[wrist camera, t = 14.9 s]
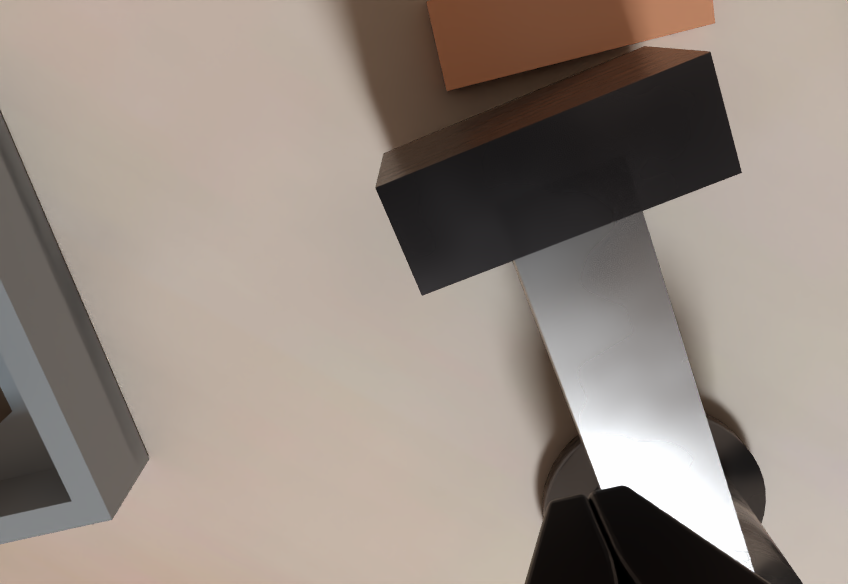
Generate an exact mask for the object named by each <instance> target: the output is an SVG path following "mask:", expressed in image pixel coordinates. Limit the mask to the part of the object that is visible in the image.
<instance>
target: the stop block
mask: <svg viewBox="0 0 848 584" xmlns="http://www.w3.org/2000/svg"><path fill="white" fill-rule="evenodd" d="M11 412H12V410H11V407H10V405H9V403H8V401H7V399H6V397H5V395H4V393H3V391H2V389H1V387H0V423H1V422H2V421H3V420H4V419H5V418H6V417H7V416H8V415H9V414H10V413H11Z"/></svg>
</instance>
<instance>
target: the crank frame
mask: <svg viewBox="0 0 848 584" xmlns="http://www.w3.org/2000/svg"><path fill="white" fill-rule="evenodd" d="M426 3H427V8H428V12H429V17H430V21H431V25H432V30H433V34H434V39H435V43H436V47H437V52H438V56H439V61H440V65H441V70H442V74H443V78H444V83H445V87H446V90H447V91H449V90H453V89H457V88H461V87H465V86H469V85H473V84H477V83H481V82H485V81H488V80H492V79H496V78H500V77H504V76H508V75H512V74H516V73H520V72H524V71H528V70H532V69H536V68H540V67H544V66H548V65H552V64H556V63H560V62H563V61H567V60H571V59H575V58H579V57H583V56H587V55H591V54H595V53H599V52H603V51H607V50H611V49H615V48H619V47H623V46H627V45H631V44H635V43H639V42H642V41H646V40H650V39H654V38H658V37H662V36H666V35H670V34H674V33H678V32H682V31H686V30H690V29H694V28H698V27H702V26H706V25H710V24H714V23H715V18H714V9H713V0H430V1H426ZM705 415H706V418H707V421H708V424H709V428H710V431H711V434H712V437H713V440H714V444H715V447H716V450H717V453H718V457H719V460H720V463H721V466H722V469H723V473H724V474H725V475H726V476H727V477H728V478H729V479H730V480H731V482H732V483H733V484H734V486H735V487H736V489H737V490H738V492H739V493H740V494H741V496H742V497H743V499H744V500H745V502H746V503H747V504H748V506H749V507H750V509H751V510H752V512H753V513H754V514H755V516H756V517H757V519H758V520H759V522H760V523H762V519H763V516H764V511H765V503H766V496H765V485H764V480H763V476H762V474H761V471H760V468H759V466H758V464H757V462H756V461H755V459H754V457H753V455H752V454H751V453H750V452H749V450H748V449H747V448H746V447H745V445H744V444H743V443H742V442H741V440H740V439H739V438H738V437H737V435H736V434H735V433H734V432H733V431H731V430H730V429H729V428H728V427H727V426H726V425H724V424H723V423H721V422H720V421H718V420H717V419H715V418H713V417H711V416H709V415H707V414H705ZM597 487H598V484H597V482H596V479H595V477H594V474H593V471H592V469H591V466H590V463H589V461H588V458H587V456H586V453H585V450H584V448H583V445H582V442H581V440H580V437H579V435H578V436H577V437H575V438H574V439H573V440H572V441H571V442H570V443H569V444H568V445H567V447H566V448H565V449H564V450H563V451H562V452H561V454H560V455H559V457H558V458H557V460H556V461H555V463H554V465H553V467H552V469H551V471H550V473H549V475H548V478H547V481H546V484H545V487H544V493H543V509H542V511H543V517H544V515H545V512H546V508H547V506H548V503H549V502H550V501H552V500H555V499H559V498H564V497H569V496H573V495H578V494H583V495H585V496H586V497H587V498H588V497H589V494H590V493H591V492H593V491H594V490H595V489H596V488H597Z"/></svg>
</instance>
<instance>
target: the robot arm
mask: <svg viewBox="0 0 848 584" xmlns="http://www.w3.org/2000/svg"><path fill="white" fill-rule="evenodd" d="M525 584H771V583H769V582H768V581H766V580H765V579H763V578H762V577H760V576H759V575H757V574H756V573H755V572H753V571H752V570H750V569H749V568H747V567H746V566H744V565H743V564H741V563H740V562H738V561H737V560H735V559H734V558H732V557H731V556H730V555H728V554H727V553H725V552H724V551H722V550H721V549H719V548H718V547H716V546H715V545H713V544H712V543H710V542H709V541H707V540H706V539H705V538H703V537H702V536H700V535H699V534H697V533H696V532H694V531H693V530H691V529H690V528H688V527H687V526H685V525H684V524H682V523H681V522H680V521H678V520H677V519H675V518H674V517H672V516H671V515H669V514H668V513H666V512H665V511H663V510H662V509H660V508H659V507H657V506H656V505H655V504H653V503H652V502H650V501H649V500H647V499H646V498H644V497H643V496H641V495H640V494H638V493H637V492H635V491H634V490H632V489H631V488H629V487H628V486H624V485H620V486H615V487H610V488H606V489H601V490H596V491H593V492H591V493H590V494H589V497H588V498H587V497H586V496H585V495H583V494H578V495H573V496H569V497H564V498H559V499H555V500H552V501H550V502H549V503H548V506H547V508H546V512H545V515H544V519H543V522H542V526H541V529H540V532H539V536H538V539H537V543H536V546H535V550H534V553H533V556H532V560H531V563H530V567H529V570H528V574H527V577H526V581H525Z"/></svg>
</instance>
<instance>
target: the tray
mask: <svg viewBox="0 0 848 584" xmlns="http://www.w3.org/2000/svg"><path fill="white" fill-rule="evenodd" d="M0 387H1V389H2V391H3V393H4V395H5V397H6V399H7V401H8V403H9V405H10V407H11V410H12V412H11V413H10V414H9V415H8V416H7V417H6V418H5V419H4V420H3V421H2V422H1V423H0V544H4V543H8V542H13V541H17V540H22V539H26V538H31V537H36V536H40V535H45V534H49V533H54V532H58V531H63V530H67V529H72V528H77V527H81V526H86V525H90V524H95V523H99V522H104V521H109V520H112V519H113V517H114V516H115V514H116V512H117V511H118V509H119V508H120V506H121V504H122V503H123V501H124V499H125V498H126V496H127V494H128V493H129V491H130V490H131V488H132V486H133V485H134V483H135V481H136V480H137V478H138V477H139V475H140V473H141V472H142V470H143V468H144V467H145V465H146V464H147V462H148V460H149V457H148V455H147V453H146V450H145V448H144V446H143V443H142V441H141V439H140V436H139V434H138V432H137V429H136V427H135V425H134V422H133V420H132V418H131V415H130V413H129V411H128V408H127V406H126V404H125V401H124V399H123V397H122V394H121V392H120V390H119V387H118V385H117V383H116V380H115V378H114V376H113V373H112V371H111V369H110V366H109V364H108V362H107V359H106V357H105V355H104V352H103V350H102V348H101V345H100V343H99V341H98V338H97V336H96V334H95V332H94V329H93V327H92V325H91V322H90V320H89V318H88V315H87V313H86V311H85V308H84V306H83V304H82V301H81V299H80V297H79V294H78V292H77V290H76V287H75V285H74V283H73V280H72V278H71V276H70V273H69V271H68V269H67V266H66V264H65V262H64V259H63V257H62V255H61V252H60V250H59V248H58V245H57V243H56V241H55V238H54V236H53V234H52V231H51V229H50V227H49V224H48V222H47V220H46V217H45V215H44V213H43V210H42V208H41V206H40V203H39V201H38V199H37V196H36V194H35V192H34V190H33V187H32V185H31V183H30V180H29V178H28V176H27V173H26V171H25V169H24V166H23V164H22V162H21V159H20V157H19V155H18V152H17V150H16V148H15V145H14V143H13V141H12V138H11V136H10V134H9V131H8V129H7V127H6V124H5V122H4V120H3V117H2V115H1V113H0Z"/></svg>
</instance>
